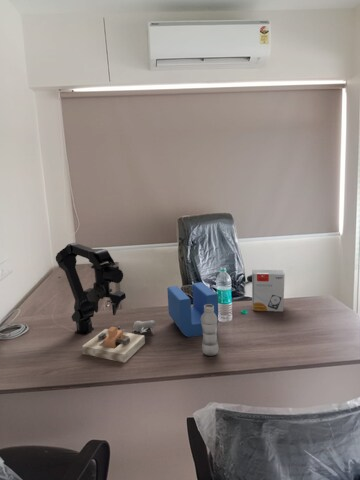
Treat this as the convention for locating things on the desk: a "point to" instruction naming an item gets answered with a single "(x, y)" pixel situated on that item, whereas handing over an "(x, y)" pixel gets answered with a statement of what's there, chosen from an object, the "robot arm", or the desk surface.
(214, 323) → the plastic bottle
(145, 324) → the clip-on lamp
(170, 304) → the block
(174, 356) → the desk surface
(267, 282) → the hard drive box
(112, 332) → the wooden cross piece
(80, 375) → the desk surface
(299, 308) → the desk surface
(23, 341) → the desk surface
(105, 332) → the beige square frame
